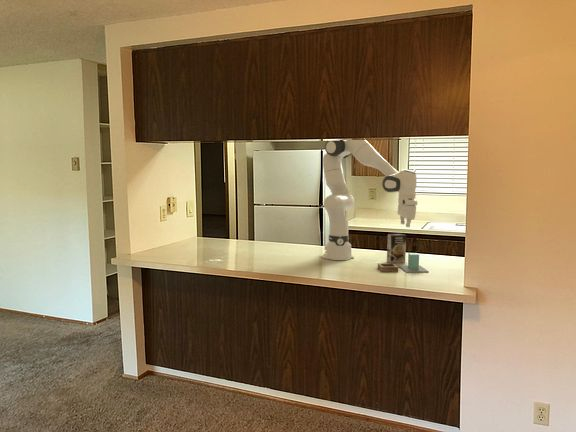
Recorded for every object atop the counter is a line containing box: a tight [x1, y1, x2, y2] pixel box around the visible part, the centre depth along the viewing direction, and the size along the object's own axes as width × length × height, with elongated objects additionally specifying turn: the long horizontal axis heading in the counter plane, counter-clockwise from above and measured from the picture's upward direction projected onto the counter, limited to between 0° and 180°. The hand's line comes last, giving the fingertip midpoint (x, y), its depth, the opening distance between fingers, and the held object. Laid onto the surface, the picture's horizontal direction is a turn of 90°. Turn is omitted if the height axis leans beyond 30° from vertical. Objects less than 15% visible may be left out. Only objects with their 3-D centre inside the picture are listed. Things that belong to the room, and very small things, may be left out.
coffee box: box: [386, 233, 407, 264], centre depth 284 cm, size 9×6×16 cm
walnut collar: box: [377, 262, 399, 273], centre depth 264 cm, size 9×9×2 cm
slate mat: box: [398, 265, 429, 274], centre depth 265 cm, size 14×12×1 cm
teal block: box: [407, 252, 420, 269], centre depth 265 cm, size 4×4×8 cm
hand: (405, 225), depth 264 cm, fingers open, 8 cm apart
